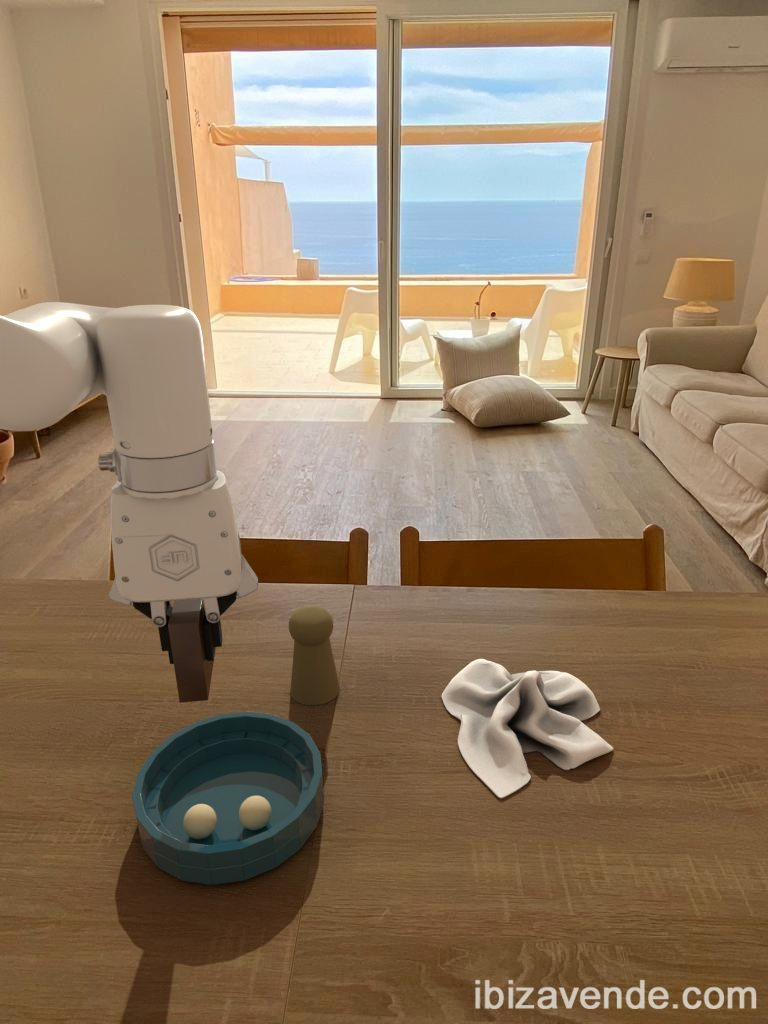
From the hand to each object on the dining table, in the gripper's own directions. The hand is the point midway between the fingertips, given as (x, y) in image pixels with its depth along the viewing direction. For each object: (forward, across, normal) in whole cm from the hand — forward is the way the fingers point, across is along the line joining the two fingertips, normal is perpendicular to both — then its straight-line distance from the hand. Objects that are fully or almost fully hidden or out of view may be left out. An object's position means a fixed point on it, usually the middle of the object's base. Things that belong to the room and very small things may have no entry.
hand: (193, 652), depth 64 cm
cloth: (+17, +34, +5) cm, 38 cm away
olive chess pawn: (+17, +11, +14) cm, 25 cm away
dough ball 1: (+15, 0, -6) cm, 16 cm away
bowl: (+17, +2, -3) cm, 17 cm away
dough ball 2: (+15, +5, -6) cm, 16 cm away
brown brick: (+3, 0, +1) cm, 3 cm away
